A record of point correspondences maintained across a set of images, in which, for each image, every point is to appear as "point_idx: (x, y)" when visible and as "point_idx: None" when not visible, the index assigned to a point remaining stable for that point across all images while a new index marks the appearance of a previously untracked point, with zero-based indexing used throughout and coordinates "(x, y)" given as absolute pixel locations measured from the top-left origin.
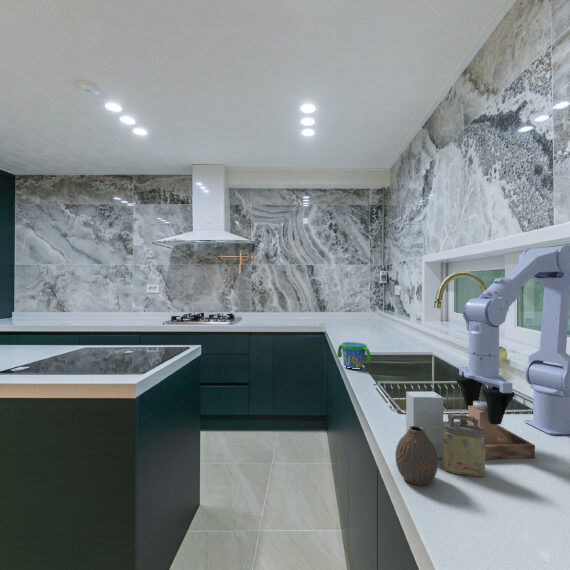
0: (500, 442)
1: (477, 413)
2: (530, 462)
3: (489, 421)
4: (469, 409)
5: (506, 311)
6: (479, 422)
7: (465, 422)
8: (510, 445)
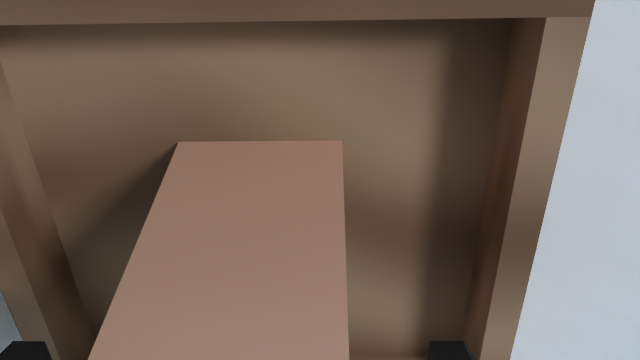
0: None
1: (140, 352)
2: None
3: (28, 354)
4: (315, 347)
5: None
6: (127, 279)
7: (502, 248)
8: (14, 302)
